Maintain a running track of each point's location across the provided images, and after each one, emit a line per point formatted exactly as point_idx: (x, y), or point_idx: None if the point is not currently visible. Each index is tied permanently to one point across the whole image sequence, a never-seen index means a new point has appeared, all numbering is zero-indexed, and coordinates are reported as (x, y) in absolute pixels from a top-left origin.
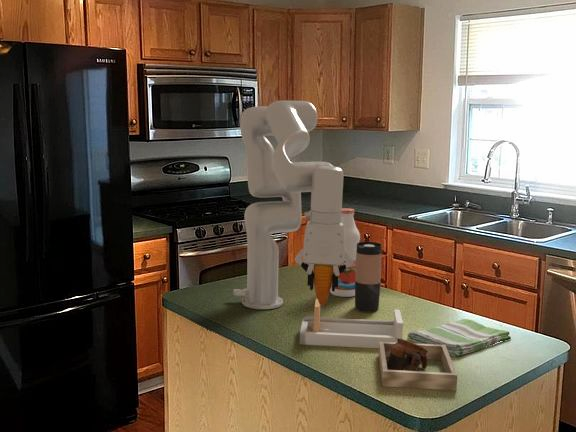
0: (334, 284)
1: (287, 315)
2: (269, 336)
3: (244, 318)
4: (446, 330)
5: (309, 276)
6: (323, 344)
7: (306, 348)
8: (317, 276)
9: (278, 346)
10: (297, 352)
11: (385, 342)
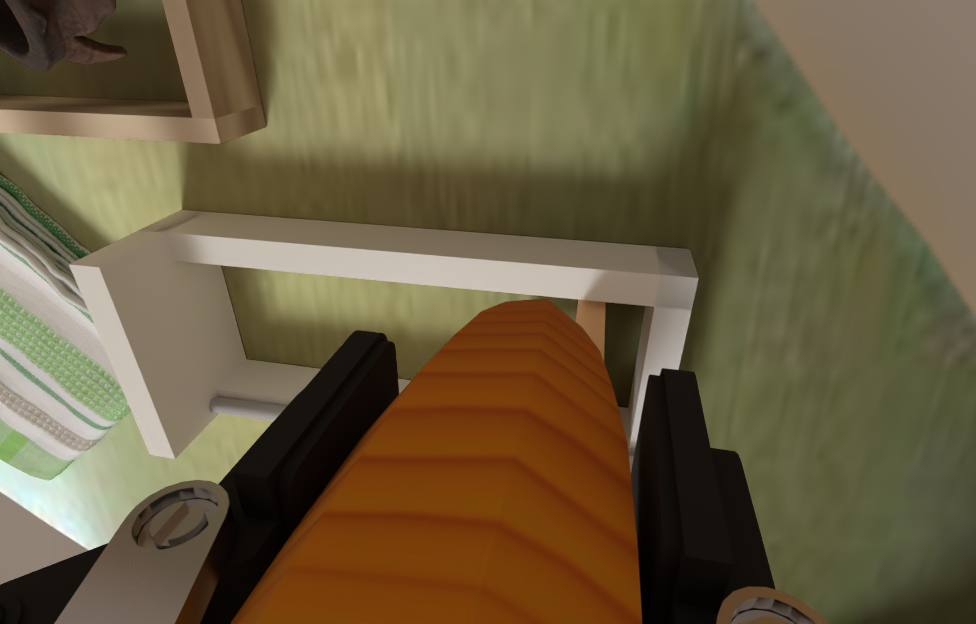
0: (319, 381)
1: None
2: (857, 355)
3: (948, 568)
4: (55, 384)
5: (735, 565)
6: (553, 241)
7: (654, 192)
8: (576, 503)
9: (830, 212)
10: (718, 123)
11: (186, 133)
